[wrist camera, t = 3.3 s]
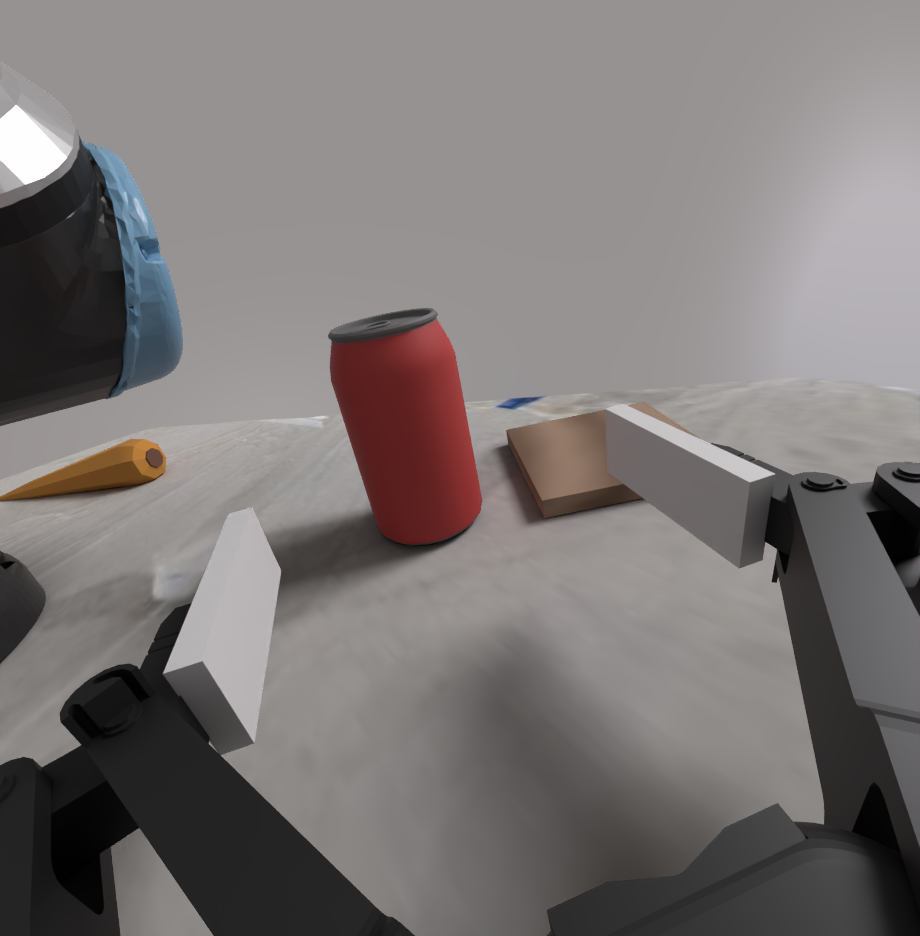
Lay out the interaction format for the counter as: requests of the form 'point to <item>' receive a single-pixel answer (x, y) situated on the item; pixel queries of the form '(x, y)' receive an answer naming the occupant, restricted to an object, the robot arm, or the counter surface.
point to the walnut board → (572, 462)
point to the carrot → (99, 471)
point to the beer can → (407, 424)
